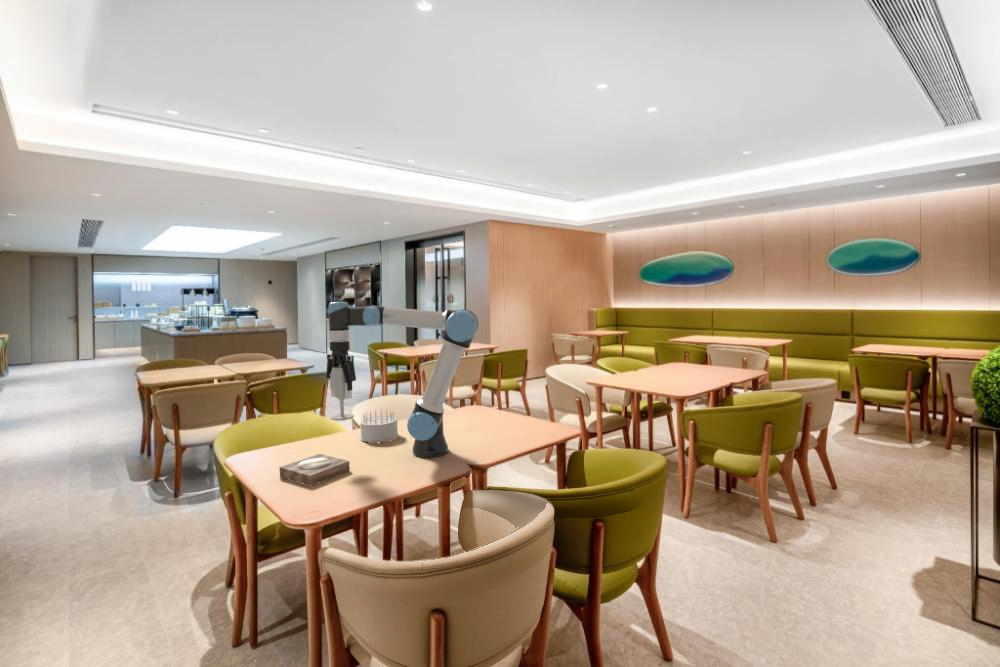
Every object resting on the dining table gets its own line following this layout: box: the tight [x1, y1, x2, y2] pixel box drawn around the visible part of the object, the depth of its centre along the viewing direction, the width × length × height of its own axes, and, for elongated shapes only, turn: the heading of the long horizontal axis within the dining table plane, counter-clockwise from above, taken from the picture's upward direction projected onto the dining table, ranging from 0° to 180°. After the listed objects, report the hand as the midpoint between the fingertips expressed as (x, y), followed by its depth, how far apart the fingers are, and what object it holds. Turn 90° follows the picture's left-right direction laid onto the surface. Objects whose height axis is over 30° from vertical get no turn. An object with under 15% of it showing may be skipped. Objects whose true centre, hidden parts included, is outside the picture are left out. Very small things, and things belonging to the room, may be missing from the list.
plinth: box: [279, 453, 351, 486], centre depth 194 cm, size 18×18×4 cm
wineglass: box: [329, 365, 355, 422], centre depth 202 cm, size 9×9×21 cm
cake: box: [359, 409, 400, 444], centre depth 241 cm, size 18×18×13 cm
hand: (341, 397), depth 202 cm, fingers closed on wineglass, 8 cm apart
